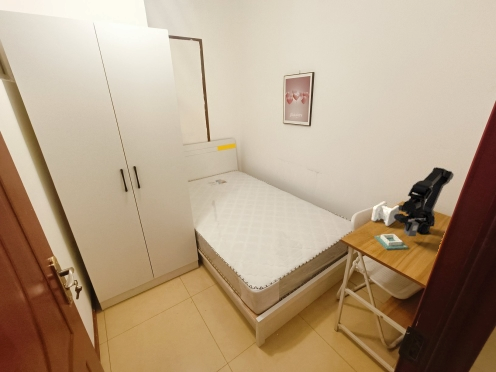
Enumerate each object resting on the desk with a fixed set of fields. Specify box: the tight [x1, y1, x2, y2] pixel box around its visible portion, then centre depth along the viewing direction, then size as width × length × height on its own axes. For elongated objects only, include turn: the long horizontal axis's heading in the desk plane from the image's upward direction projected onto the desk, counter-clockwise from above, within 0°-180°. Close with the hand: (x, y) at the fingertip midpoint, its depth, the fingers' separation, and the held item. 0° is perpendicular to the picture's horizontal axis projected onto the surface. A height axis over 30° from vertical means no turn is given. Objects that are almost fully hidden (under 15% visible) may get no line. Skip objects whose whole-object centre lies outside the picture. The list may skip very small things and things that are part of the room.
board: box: [373, 234, 409, 251], centre depth 126 cm, size 12×12×1 cm
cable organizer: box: [371, 200, 400, 227], centre depth 145 cm, size 15×11×12 cm
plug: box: [403, 219, 419, 237], centre depth 122 cm, size 4×4×8 cm
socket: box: [380, 233, 403, 246], centre depth 125 cm, size 8×8×2 cm
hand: (410, 230), depth 123 cm, fingers closed on plug, 4 cm apart
